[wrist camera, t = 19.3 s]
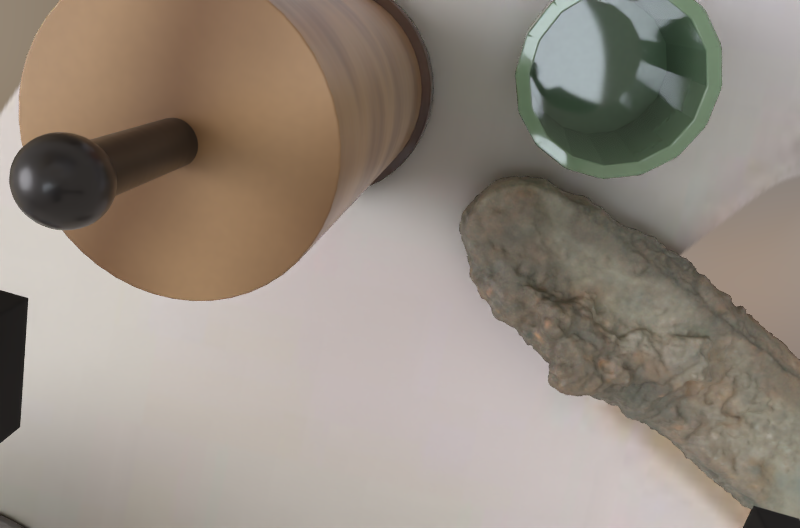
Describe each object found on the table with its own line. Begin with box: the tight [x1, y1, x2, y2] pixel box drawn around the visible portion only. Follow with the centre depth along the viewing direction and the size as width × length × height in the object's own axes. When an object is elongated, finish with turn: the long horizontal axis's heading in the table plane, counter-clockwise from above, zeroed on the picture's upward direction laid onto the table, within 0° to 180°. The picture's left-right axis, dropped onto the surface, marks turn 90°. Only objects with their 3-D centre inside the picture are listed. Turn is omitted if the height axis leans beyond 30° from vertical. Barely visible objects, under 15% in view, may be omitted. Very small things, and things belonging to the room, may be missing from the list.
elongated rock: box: [459, 176, 800, 520], centre depth 42 cm, size 35×5×10 cm
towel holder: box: [9, 0, 433, 301], centre depth 30 cm, size 12×12×27 cm
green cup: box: [515, 0, 722, 179], centre depth 35 cm, size 8×8×10 cm
